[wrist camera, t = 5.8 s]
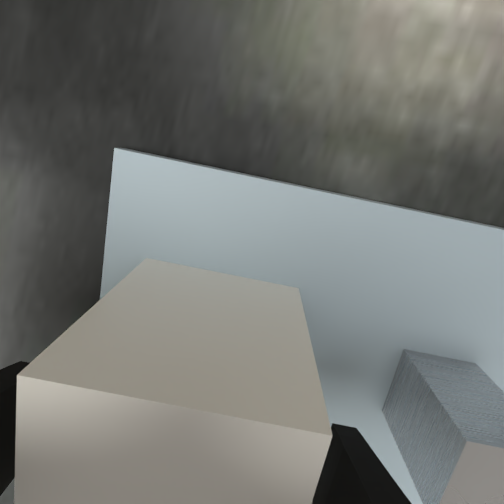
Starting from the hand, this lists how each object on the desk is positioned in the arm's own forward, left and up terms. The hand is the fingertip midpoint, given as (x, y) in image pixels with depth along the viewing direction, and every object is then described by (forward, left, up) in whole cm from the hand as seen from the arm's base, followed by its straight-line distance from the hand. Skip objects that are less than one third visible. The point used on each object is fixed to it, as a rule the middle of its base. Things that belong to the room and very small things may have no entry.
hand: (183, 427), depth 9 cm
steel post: (-8, 0, -5) cm, 9 cm away
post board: (-4, 0, -5) cm, 6 cm away
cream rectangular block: (0, 0, -4) cm, 4 cm away
